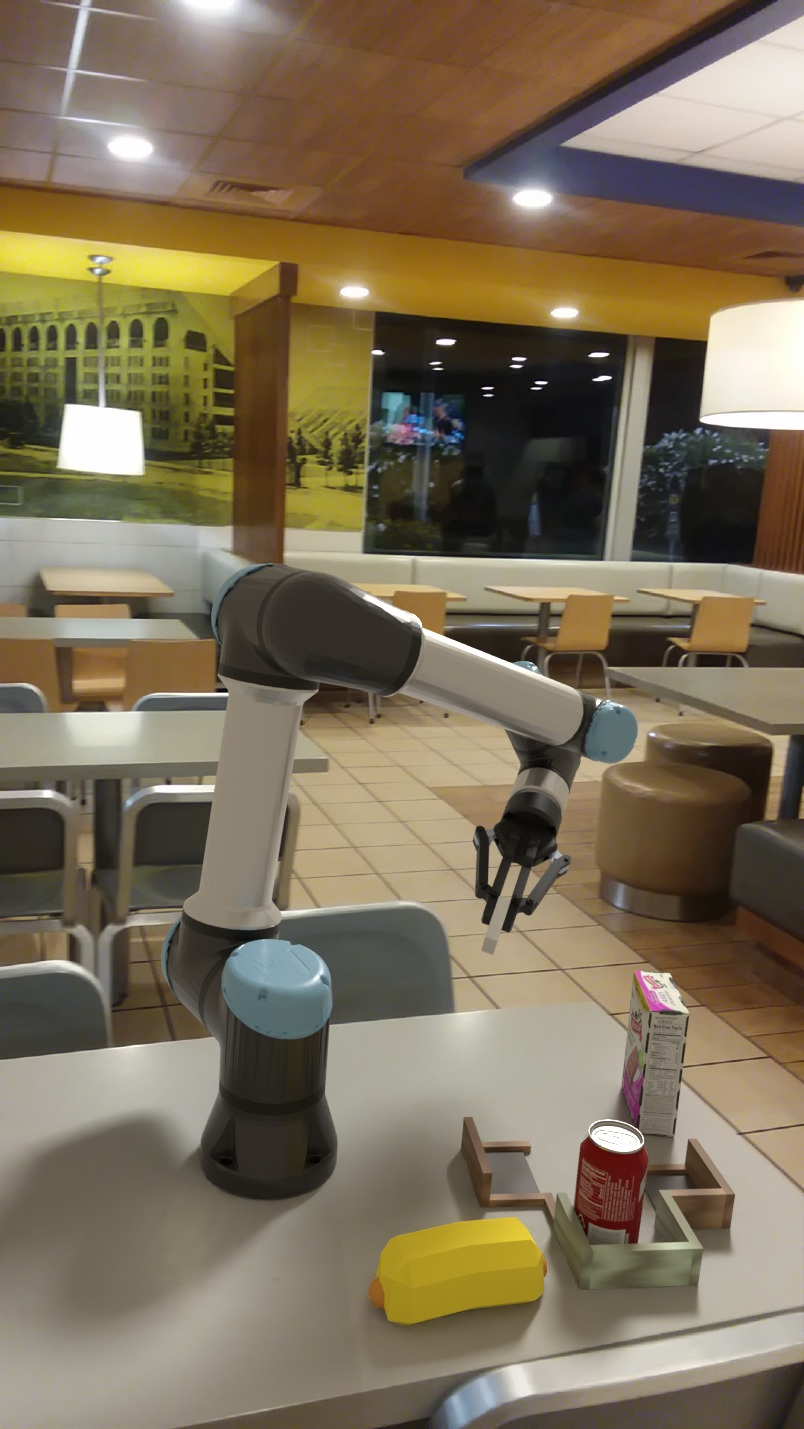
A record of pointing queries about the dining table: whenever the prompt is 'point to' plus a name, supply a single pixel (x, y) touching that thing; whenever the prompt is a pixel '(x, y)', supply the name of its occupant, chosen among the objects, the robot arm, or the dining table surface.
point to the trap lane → (680, 1206)
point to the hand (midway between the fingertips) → (489, 945)
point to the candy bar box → (654, 1053)
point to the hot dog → (457, 1270)
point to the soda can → (611, 1183)
